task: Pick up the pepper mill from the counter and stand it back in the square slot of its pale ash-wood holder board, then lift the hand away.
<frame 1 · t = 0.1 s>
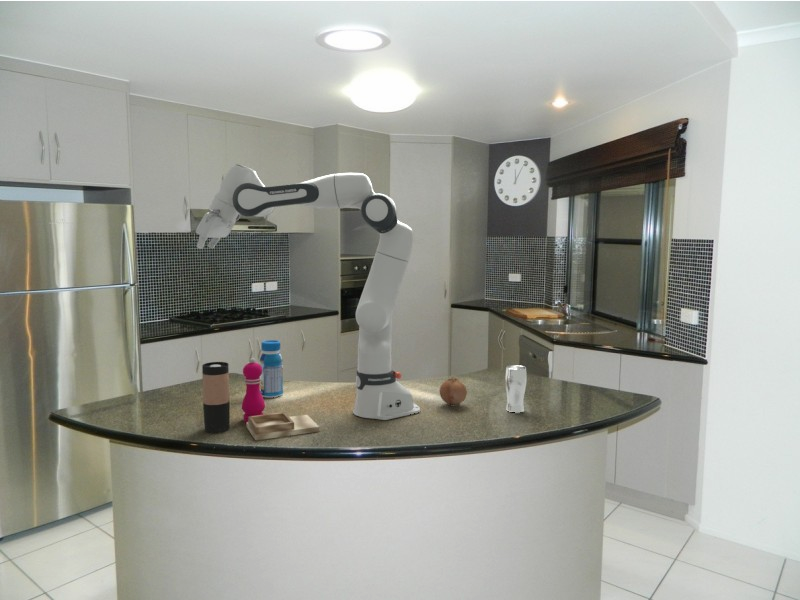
hand: (204, 247, 191), 54 cm above the countertop, tool tilted 30°, fingers open, 8 cm apart
travel mug: (217, 429, 176), on the countertop
beer glass: (514, 411, 197), on the countertop
beverage bottle: (271, 395, 214), on the countertop
mill holder: (282, 429, 176), on the countertop
pepper mill: (253, 420, 186), on the countertop
onion: (452, 406, 202), on the countertop
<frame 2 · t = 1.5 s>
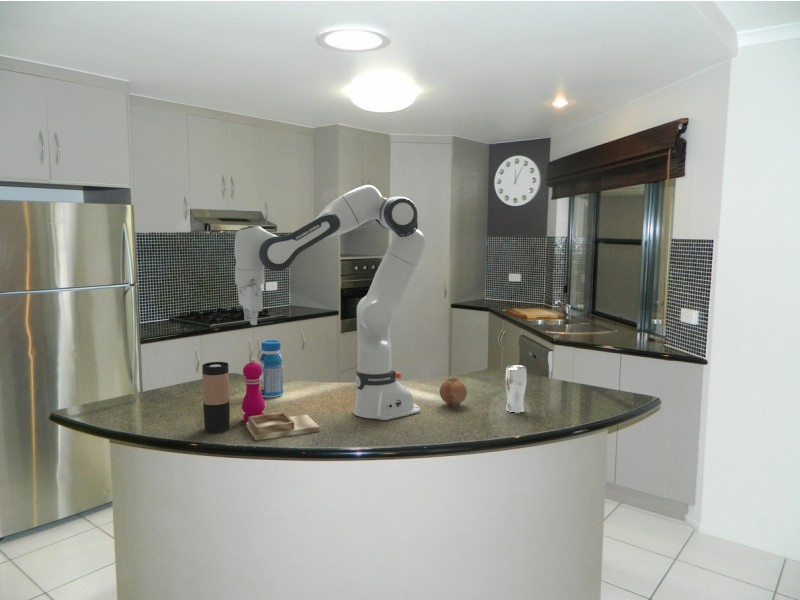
hand: (250, 322, 182), 31 cm above the countertop, tool pointing down, fingers open, 8 cm apart
nothing on the countertop moved.
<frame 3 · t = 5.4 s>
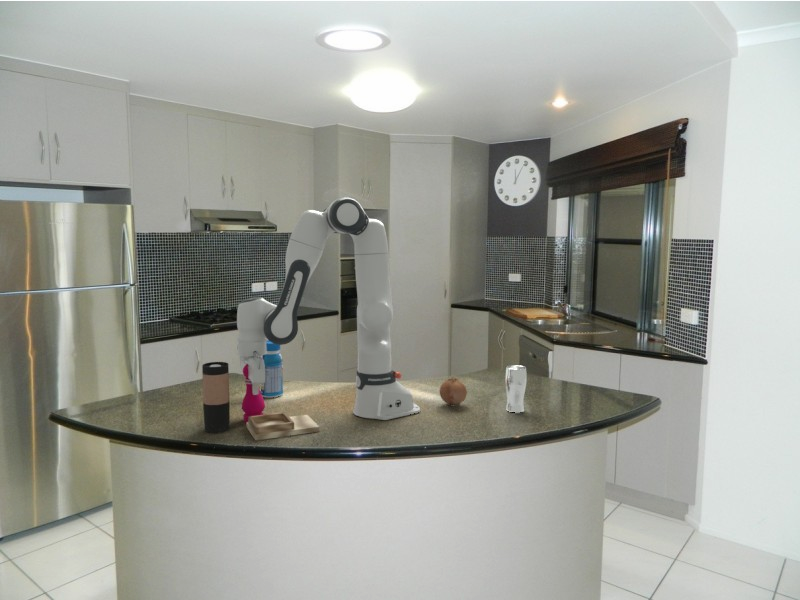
hand: (253, 391, 185), 9 cm above the countertop, tool pointing down, fingers closed on pepper mill, 5 cm apart
pepper mill: (253, 420, 186), on the countertop, touching gripper
everything else where it was.
when the fingers open (12 cm above the countertop, at t = 13.5 s): pepper mill drops 1 cm, resting on mill holder.
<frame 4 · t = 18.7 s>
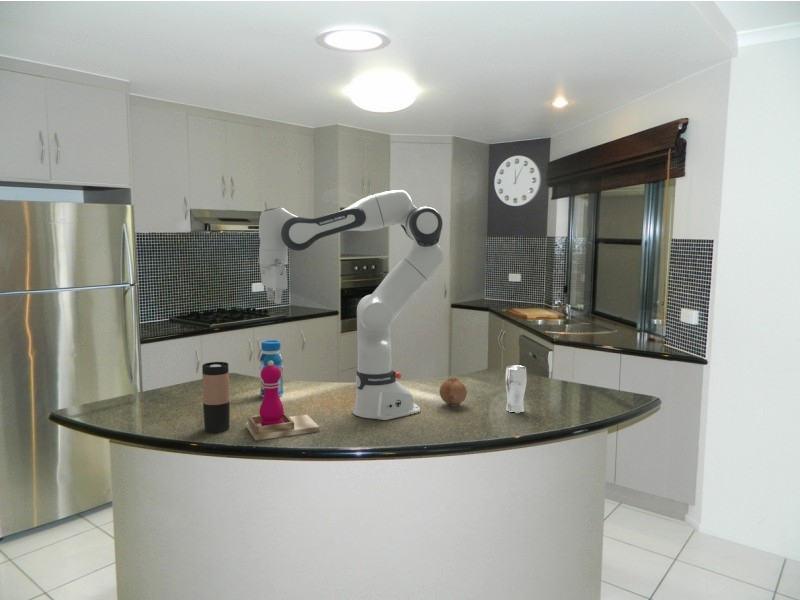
hand: (274, 302, 188), 37 cm above the countertop, tool pointing down, fingers open, 8 cm apart
pepper mill: (272, 426, 175), point 1 cm above the countertop, touching mill holder
everything else where it was.
at the end: pepper mill 0.3 cm from the target spot on the mill holder, point 1.3 cm above the mill holder's base; pepper mill tilted 0°; the gripper is holding nothing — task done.
